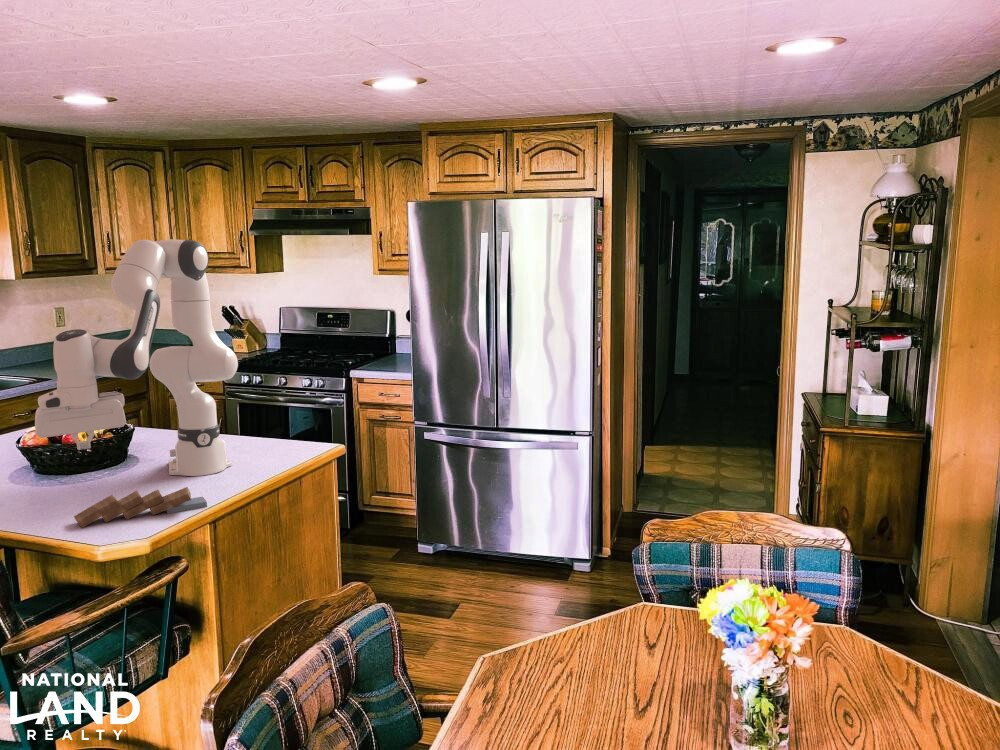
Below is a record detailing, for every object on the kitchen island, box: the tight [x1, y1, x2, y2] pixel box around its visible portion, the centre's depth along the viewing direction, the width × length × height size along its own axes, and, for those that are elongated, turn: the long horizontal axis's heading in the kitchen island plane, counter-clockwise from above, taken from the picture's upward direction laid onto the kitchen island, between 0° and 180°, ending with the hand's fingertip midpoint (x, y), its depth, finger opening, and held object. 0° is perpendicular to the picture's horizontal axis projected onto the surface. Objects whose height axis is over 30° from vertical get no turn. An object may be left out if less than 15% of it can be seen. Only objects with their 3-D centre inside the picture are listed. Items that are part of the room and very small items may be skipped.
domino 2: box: [101, 490, 144, 523], centre depth 207 cm, size 2×5×10 cm
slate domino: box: [165, 496, 208, 514], centre depth 215 cm, size 2×5×10 cm
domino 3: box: [122, 489, 164, 520], centre depth 209 cm, size 2×5×10 cm
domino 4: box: [149, 486, 192, 516], centre depth 211 cm, size 2×5×10 cm
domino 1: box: [73, 494, 120, 529], centre depth 204 cm, size 2×5×10 cm
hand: (84, 448), depth 202 cm, fingers closed
